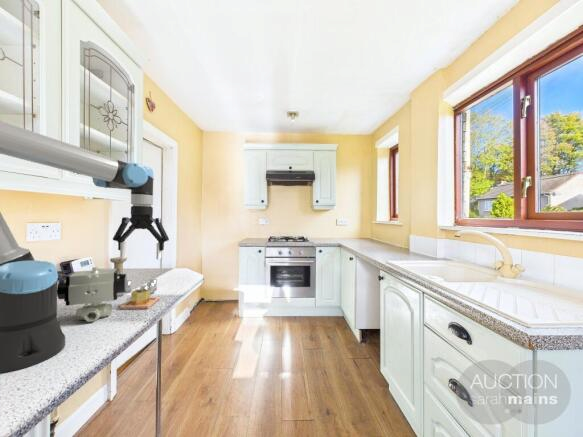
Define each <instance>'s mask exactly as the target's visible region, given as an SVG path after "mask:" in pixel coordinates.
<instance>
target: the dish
mask: <svg viewBox="0 0 583 437" xmlns="http://www.w3.org/2000/svg"><path fill="white" fill-rule="evenodd" d="M159 301H160V297H158V296H157V297H156V296H155V297H153V296H152V297H151V296H150V302H149V303H148V304H146V305H140V306H134V305H131V299H130V300H128V301H126V302H125V303H123V304H122V305H120V307H119V310H149V309H150V308H152V307H153V305H155V304H156V303H158V302H159Z"/></svg>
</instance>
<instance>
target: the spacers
mask: <svg viewBox="0 0 583 437" xmlns="http://www.w3.org/2000/svg"><path fill="white" fill-rule="evenodd" d="M157 283H158V279H157V278H153V279H149V281H148V282H147V283H146V285H141V286H140V289H149V290H150V295H154V294H155V292H156V291H157V288H158V284H157ZM131 292H132V280H131V279H127V287H126V292H125V293H120V294H119V296H118V298H119V297H120V298H121V297H123V296H124V294H126V293H131Z"/></svg>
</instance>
